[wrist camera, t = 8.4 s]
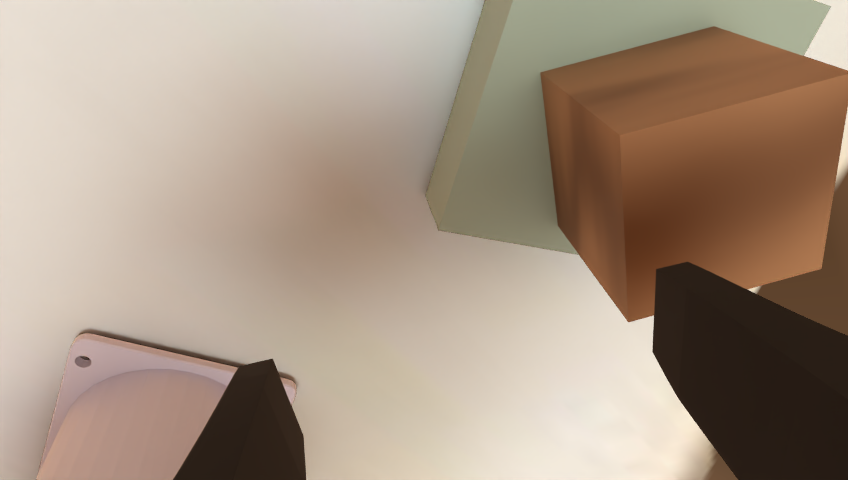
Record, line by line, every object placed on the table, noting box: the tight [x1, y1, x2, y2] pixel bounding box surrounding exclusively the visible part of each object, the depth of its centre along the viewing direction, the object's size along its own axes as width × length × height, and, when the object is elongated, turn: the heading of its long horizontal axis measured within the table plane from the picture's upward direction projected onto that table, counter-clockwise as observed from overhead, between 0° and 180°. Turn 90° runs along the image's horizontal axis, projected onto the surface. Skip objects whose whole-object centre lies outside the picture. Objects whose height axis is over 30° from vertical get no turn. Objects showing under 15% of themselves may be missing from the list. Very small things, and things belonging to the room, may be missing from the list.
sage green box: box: [425, 0, 831, 255], centre depth 19 cm, size 9×9×3 cm
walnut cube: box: [540, 26, 848, 322], centre depth 16 cm, size 5×5×5 cm
